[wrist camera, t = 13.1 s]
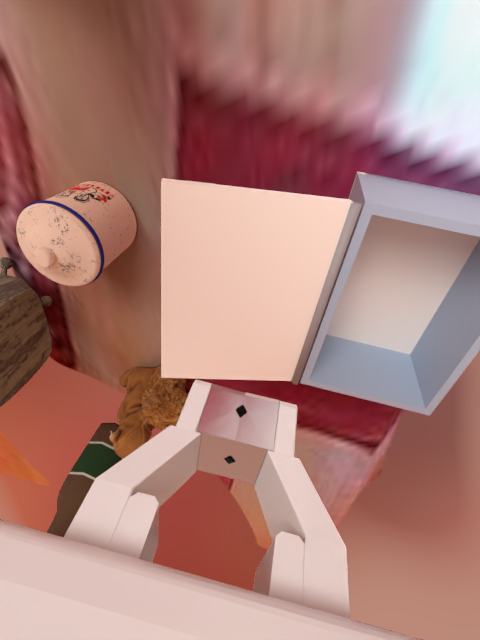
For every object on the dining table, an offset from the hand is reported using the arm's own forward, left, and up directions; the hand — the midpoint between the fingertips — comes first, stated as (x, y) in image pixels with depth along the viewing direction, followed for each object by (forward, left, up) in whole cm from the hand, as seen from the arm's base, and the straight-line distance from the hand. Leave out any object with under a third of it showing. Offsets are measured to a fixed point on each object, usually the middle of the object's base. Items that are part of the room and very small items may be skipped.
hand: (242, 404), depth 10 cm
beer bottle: (-46, -39, -30) cm, 68 cm away
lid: (-6, -8, -18) cm, 20 cm away
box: (+7, -14, -30) cm, 34 cm away
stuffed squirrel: (-28, -26, -30) cm, 49 cm away
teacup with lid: (-25, +1, -30) cm, 40 cm away
